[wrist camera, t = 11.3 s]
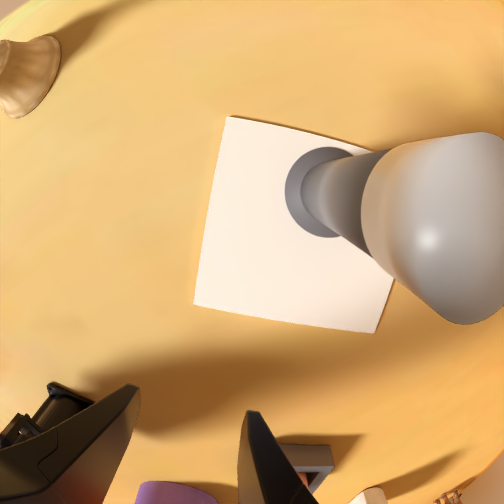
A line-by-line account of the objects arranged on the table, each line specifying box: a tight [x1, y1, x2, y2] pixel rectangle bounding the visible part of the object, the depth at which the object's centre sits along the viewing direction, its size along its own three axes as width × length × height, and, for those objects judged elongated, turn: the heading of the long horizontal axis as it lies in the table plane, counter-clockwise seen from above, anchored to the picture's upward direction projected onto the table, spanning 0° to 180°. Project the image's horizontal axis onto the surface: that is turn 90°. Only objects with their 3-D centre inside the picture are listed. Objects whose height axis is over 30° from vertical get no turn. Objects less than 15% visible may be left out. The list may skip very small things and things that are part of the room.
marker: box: [300, 132, 504, 325], centre depth 11 cm, size 4×4×14 cm
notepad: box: [193, 116, 394, 334], centre depth 19 cm, size 14×13×1 cm
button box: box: [279, 444, 335, 494], centre depth 24 cm, size 8×8×3 cm
